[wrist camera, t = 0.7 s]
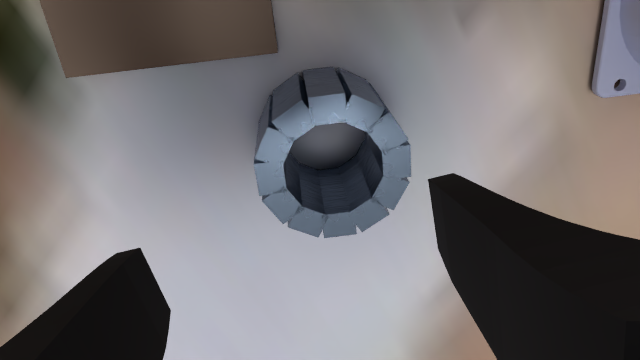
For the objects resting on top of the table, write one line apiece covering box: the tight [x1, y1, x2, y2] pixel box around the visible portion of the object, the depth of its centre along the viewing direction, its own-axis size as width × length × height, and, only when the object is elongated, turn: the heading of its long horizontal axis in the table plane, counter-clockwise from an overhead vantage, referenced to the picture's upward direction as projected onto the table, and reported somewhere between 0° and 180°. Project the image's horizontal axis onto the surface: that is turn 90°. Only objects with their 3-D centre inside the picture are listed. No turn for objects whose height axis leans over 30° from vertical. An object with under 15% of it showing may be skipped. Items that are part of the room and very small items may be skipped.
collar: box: [254, 67, 411, 238], centre depth 19 cm, size 6×6×4 cm
